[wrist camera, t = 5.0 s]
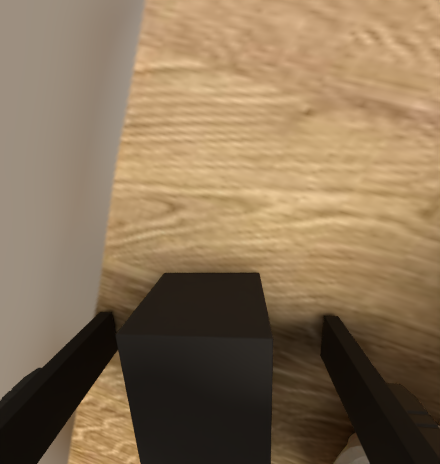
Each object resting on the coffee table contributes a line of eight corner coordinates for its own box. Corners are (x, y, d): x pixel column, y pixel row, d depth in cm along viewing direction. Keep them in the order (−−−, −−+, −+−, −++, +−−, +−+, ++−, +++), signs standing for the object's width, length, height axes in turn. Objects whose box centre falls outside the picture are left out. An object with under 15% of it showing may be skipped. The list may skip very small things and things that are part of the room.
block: (259, 385, 14) (269, 500, 9) (176, 381, 14) (144, 486, 9) (259, 272, 12) (273, 339, 7) (164, 272, 12) (114, 334, 7)
